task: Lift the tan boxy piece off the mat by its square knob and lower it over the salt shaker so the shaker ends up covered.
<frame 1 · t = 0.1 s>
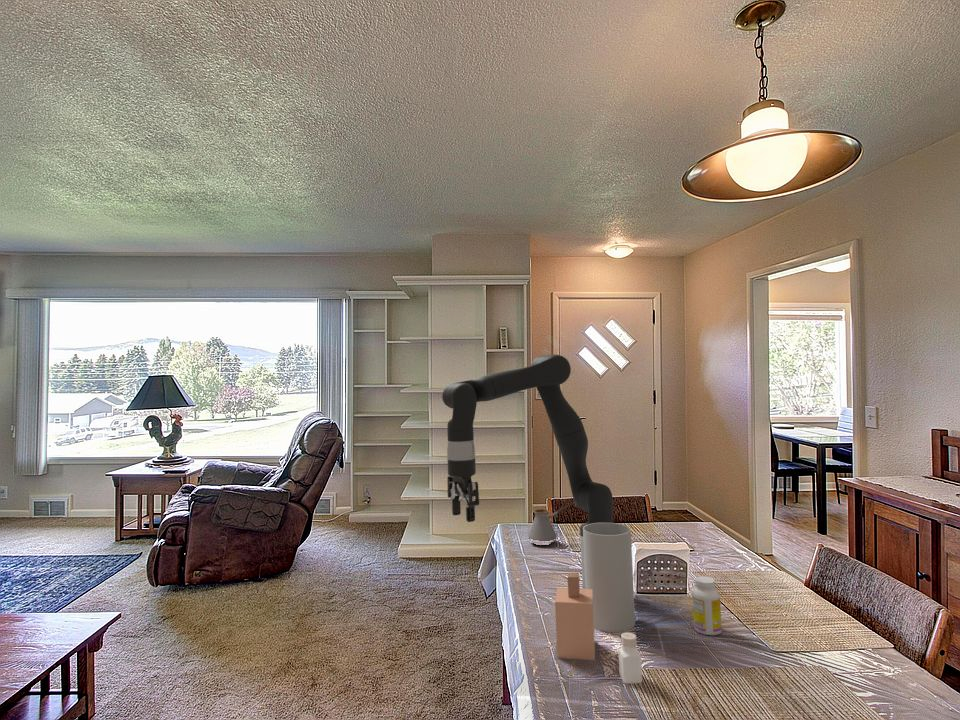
hand: (463, 518, 142), 29 cm above the table, fingers open, 8 cm apart
cylinder vase: (610, 624, 141), on the table
salt shaker: (630, 681, 114), on the table
mat: (576, 652, 127), on the table
tan boxy piece: (576, 649, 127), point 1 cm above the table, touching mat
supplement bottle: (707, 631, 135), on the table
coffee pot: (553, 542, 214), on the table
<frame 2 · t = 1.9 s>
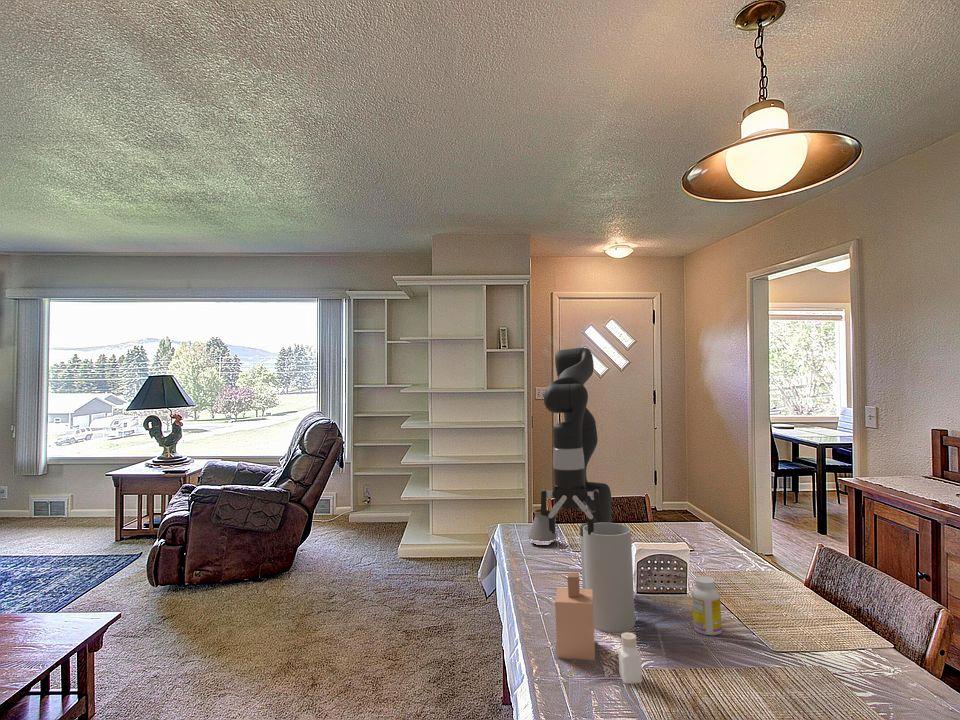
hand: (571, 533, 128), 28 cm above the table, fingers open, 8 cm apart
nothing on the table moved.
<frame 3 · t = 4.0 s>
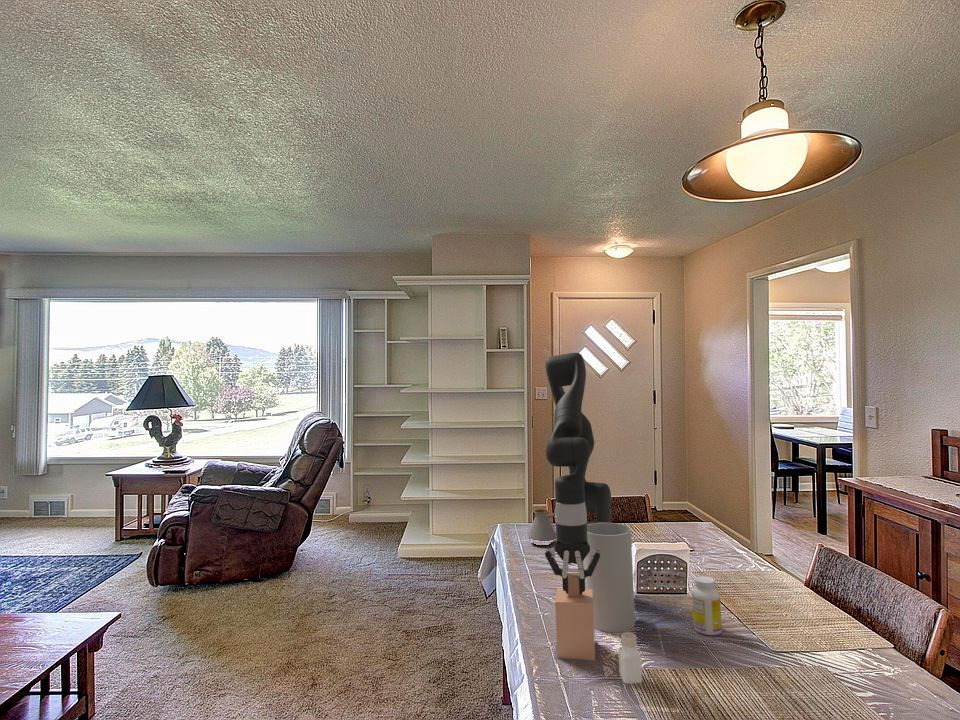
hand: (574, 592, 127), 14 cm above the table, fingers closed on tan boxy piece, 2 cm apart
tan boxy piece: (576, 649, 127), point 1 cm above the table, touching gripper, mat
everything else where it was.
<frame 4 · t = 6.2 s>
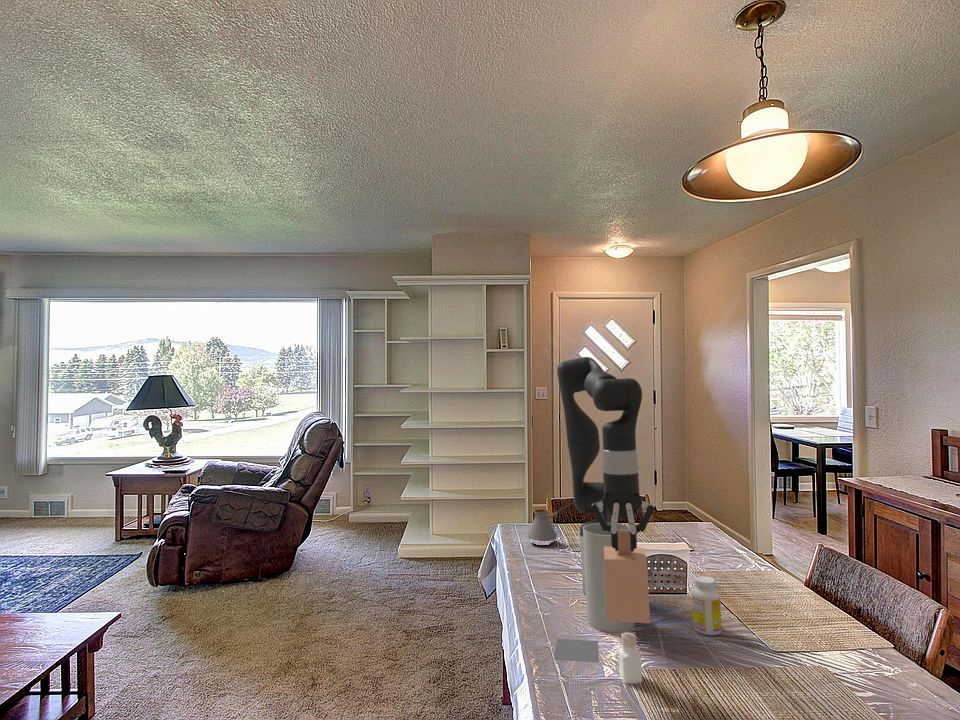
hand: (624, 549, 115), 28 cm above the table, fingers closed on tan boxy piece, 2 cm apart
tan boxy piece: (627, 613, 114), point 14 cm above the table, touching gripper
everything else where it was.
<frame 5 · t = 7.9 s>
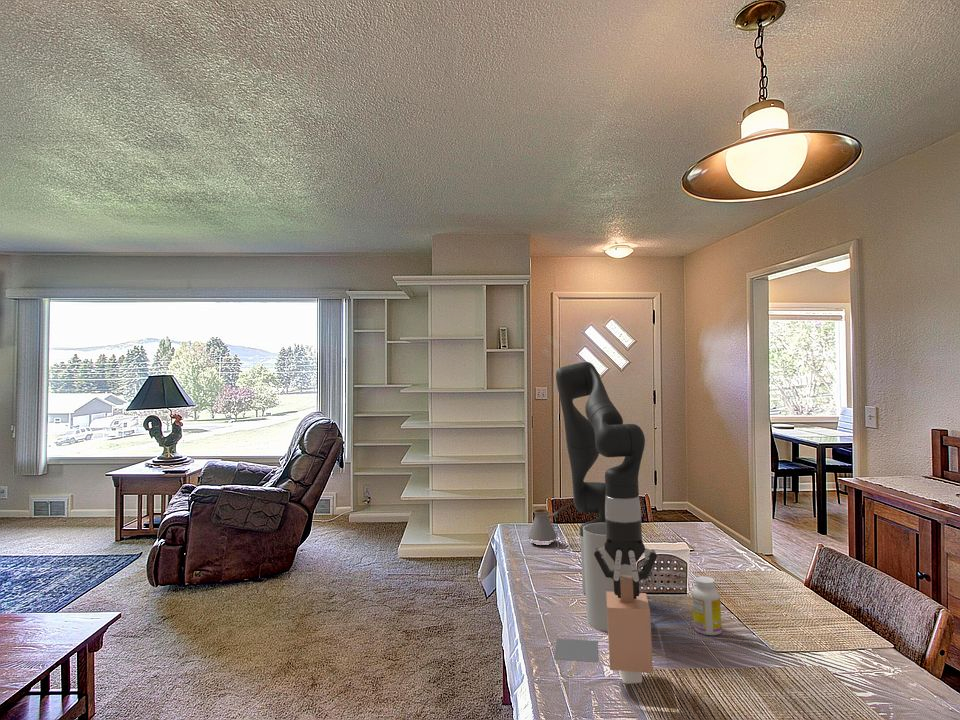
hand: (626, 596, 115), 18 cm above the table, fingers closed on tan boxy piece, 2 cm apart
tan boxy piece: (629, 660, 114), point 4 cm above the table, touching gripper
everything else where it was.
when the fingers open (14 cm above the table, at t = 8.9 s): tan boxy piece stays where it is, on the table.
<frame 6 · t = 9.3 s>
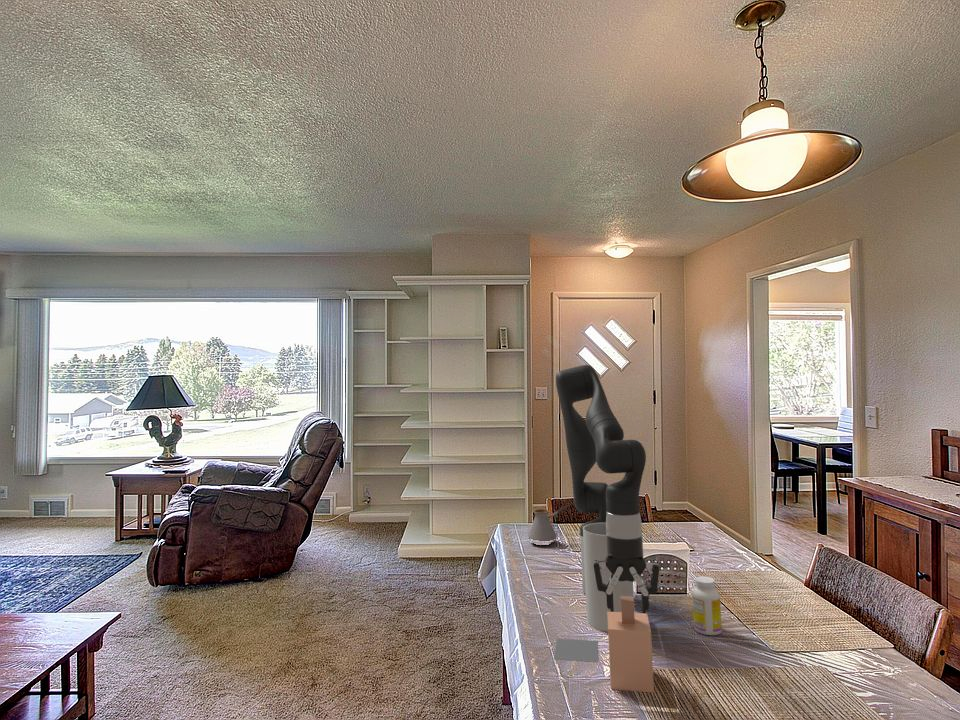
hand: (627, 610, 114), 15 cm above the table, fingers open, 6 cm apart
tan boxy piece: (630, 681, 114), on the table
everything else where it was.
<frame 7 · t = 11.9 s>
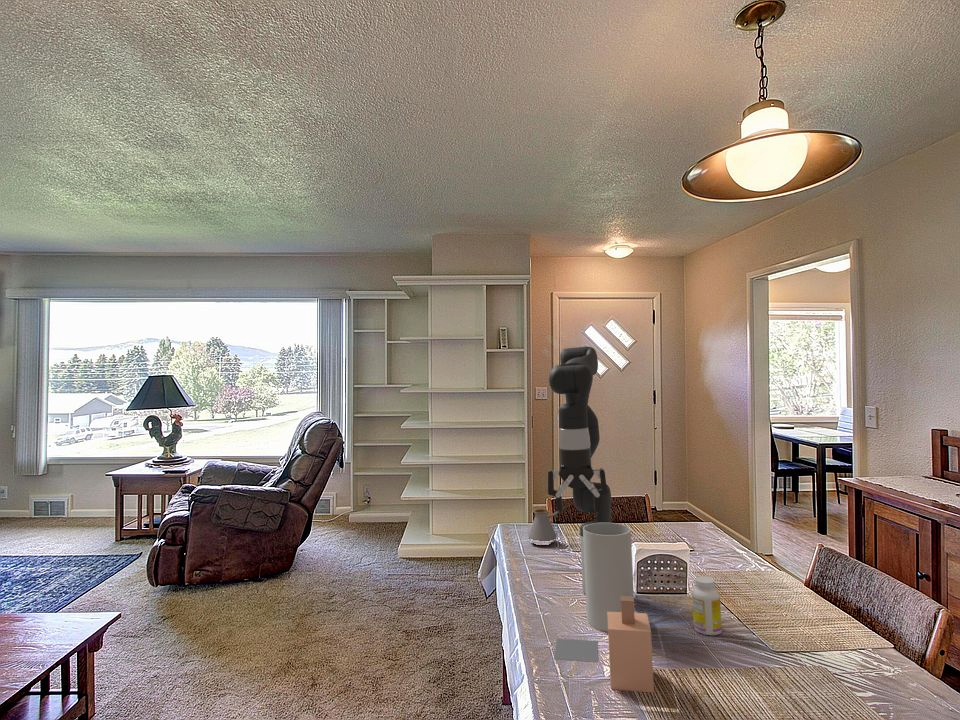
hand: (578, 511, 131), 33 cm above the table, fingers open, 8 cm apart
nothing on the table moved.
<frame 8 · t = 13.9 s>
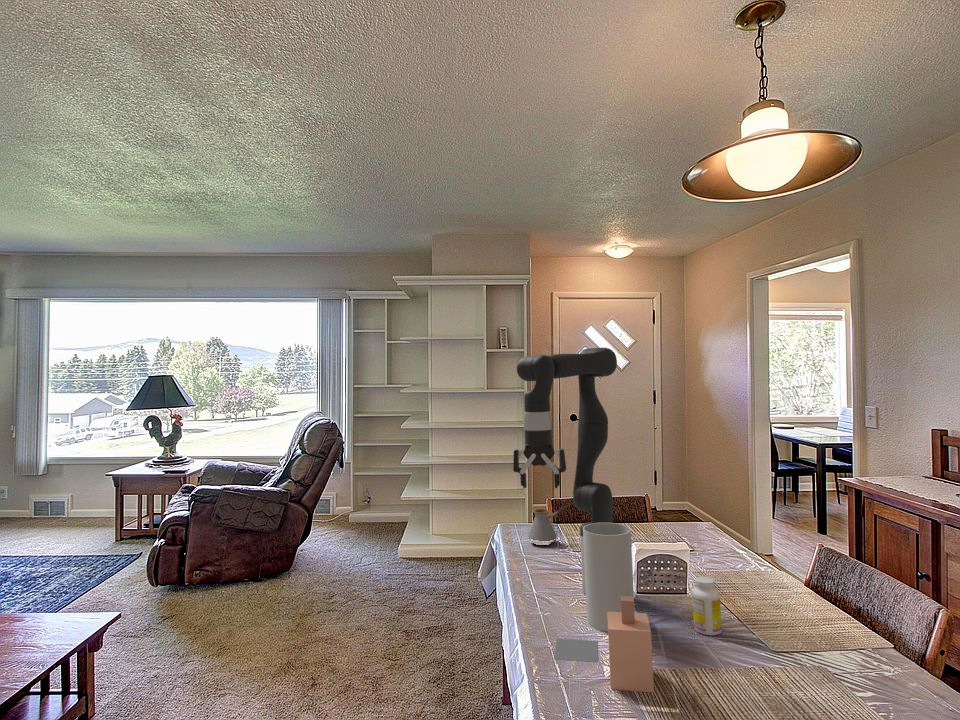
hand: (540, 487, 145), 36 cm above the table, fingers open, 8 cm apart
nothing on the table moved.
at the end: tan boxy piece 0.5 cm from the salt shaker (horizontally); tan boxy piece on the table; salt shaker tilted 0° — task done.
